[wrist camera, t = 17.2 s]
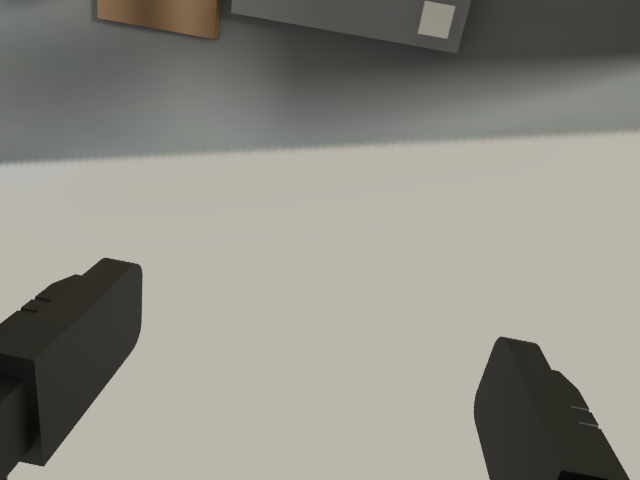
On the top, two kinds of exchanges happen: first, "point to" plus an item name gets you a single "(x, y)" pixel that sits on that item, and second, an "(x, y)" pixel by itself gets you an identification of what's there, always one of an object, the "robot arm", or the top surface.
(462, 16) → the grey socket board
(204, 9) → the board
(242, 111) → the top surface
